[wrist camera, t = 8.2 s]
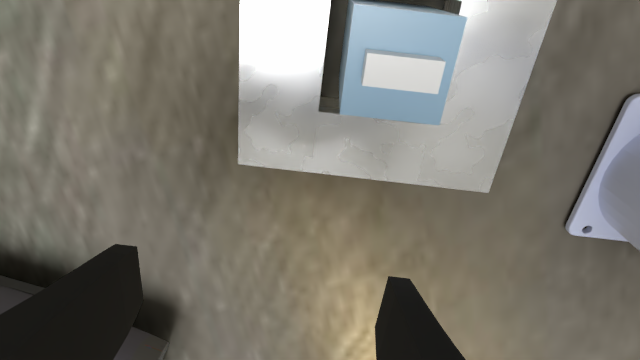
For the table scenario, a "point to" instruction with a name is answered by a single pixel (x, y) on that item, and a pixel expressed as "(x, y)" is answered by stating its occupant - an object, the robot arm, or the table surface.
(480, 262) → the table surface
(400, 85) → the plug
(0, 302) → the bluetooth speaker
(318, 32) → the grey socket board
